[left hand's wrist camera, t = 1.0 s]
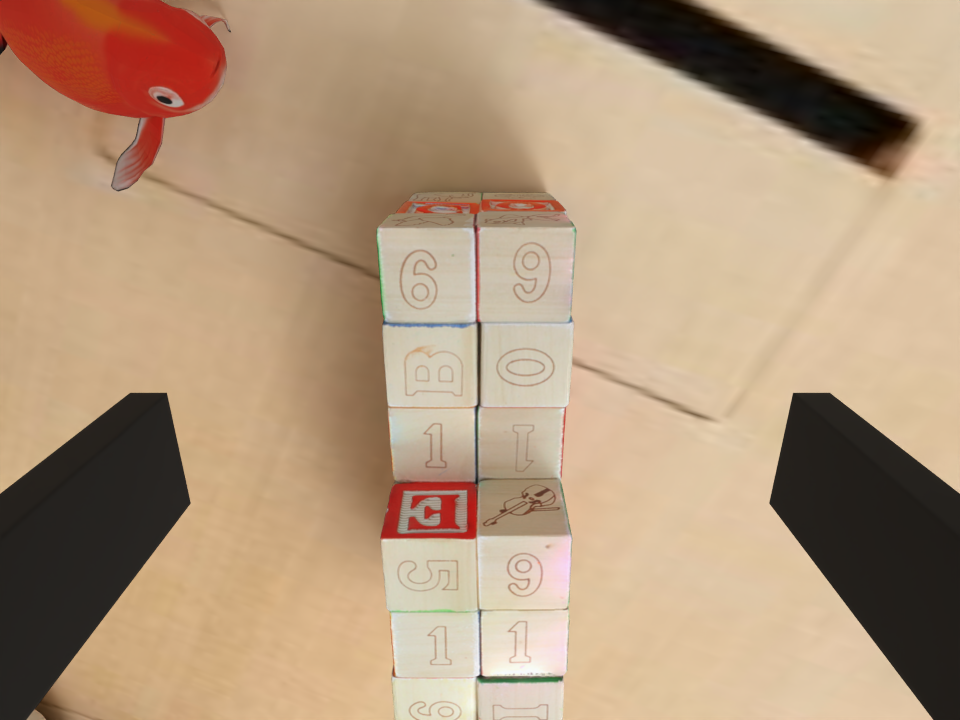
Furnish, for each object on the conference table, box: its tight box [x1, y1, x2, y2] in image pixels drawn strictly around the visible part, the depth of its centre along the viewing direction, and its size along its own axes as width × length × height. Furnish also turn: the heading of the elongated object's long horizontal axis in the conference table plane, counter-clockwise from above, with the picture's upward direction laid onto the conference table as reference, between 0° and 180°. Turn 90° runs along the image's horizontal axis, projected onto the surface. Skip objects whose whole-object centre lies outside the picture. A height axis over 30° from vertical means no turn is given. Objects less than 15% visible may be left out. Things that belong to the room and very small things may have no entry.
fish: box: [0, 0, 231, 191], centre depth 21 cm, size 11×16×10 cm
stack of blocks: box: [377, 192, 576, 720], centre depth 25 cm, size 21×6×12 cm, turn 0°
